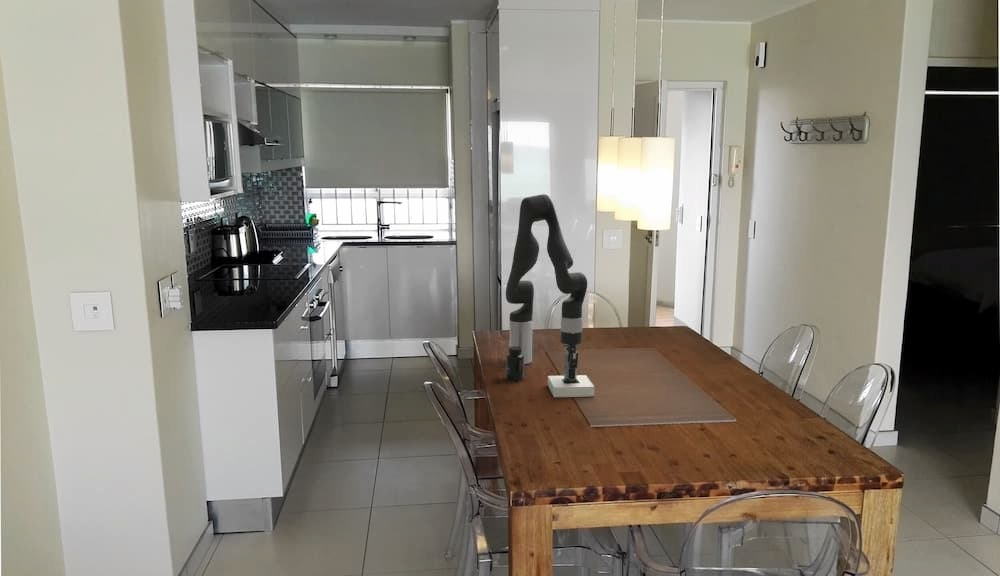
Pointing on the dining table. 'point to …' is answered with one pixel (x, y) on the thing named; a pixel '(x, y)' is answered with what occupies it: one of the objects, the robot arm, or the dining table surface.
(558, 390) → the socket block
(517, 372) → the supplement bottle
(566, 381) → the graphite peg
